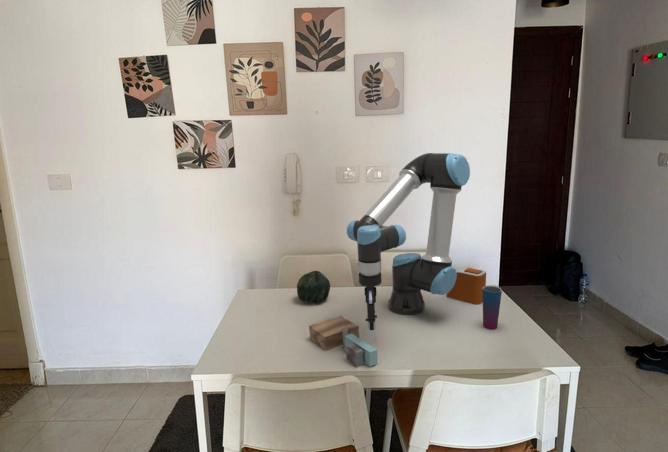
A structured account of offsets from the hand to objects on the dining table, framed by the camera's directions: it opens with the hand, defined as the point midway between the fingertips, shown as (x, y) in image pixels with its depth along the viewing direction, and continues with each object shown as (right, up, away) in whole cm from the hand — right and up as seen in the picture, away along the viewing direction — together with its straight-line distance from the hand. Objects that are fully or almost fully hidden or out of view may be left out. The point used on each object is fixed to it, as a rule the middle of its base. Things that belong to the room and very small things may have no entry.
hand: (372, 336), depth 149 cm
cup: (+46, 0, +14) cm, 48 cm away
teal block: (-4, -5, -6) cm, 9 cm away
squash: (-22, +5, +45) cm, 50 cm away
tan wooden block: (-9, -4, +1) cm, 10 cm away
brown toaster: (+45, +6, +41) cm, 62 cm away
